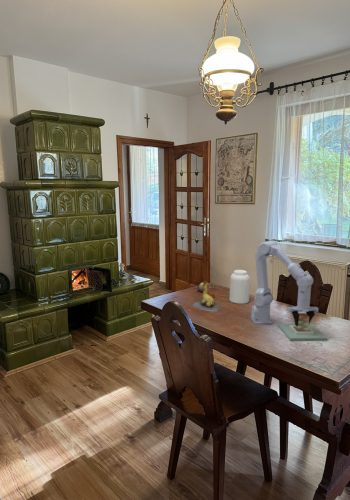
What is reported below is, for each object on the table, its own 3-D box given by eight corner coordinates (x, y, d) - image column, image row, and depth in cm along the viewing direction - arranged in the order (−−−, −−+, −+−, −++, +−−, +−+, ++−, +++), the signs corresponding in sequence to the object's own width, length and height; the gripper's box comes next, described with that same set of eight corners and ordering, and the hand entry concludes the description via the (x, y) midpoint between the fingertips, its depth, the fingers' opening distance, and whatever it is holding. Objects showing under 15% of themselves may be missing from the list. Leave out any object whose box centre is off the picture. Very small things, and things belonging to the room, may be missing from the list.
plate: (290, 340, 163) (290, 336, 163) (277, 326, 181) (277, 322, 180) (327, 340, 164) (327, 336, 163) (311, 325, 181) (311, 321, 181)
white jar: (242, 305, 213) (244, 274, 209) (225, 301, 221) (226, 270, 217) (252, 300, 222) (254, 270, 219) (235, 296, 230) (236, 267, 227)
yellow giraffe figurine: (200, 300, 223) (201, 276, 219) (226, 306, 213) (227, 281, 210) (188, 308, 209) (188, 283, 206) (214, 314, 200) (215, 288, 196)
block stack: (298, 331, 169) (299, 316, 168) (294, 327, 174) (295, 313, 173) (308, 330, 170) (309, 316, 169) (304, 327, 175) (305, 313, 174)
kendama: (208, 293, 224) (195, 283, 242) (209, 301, 226) (196, 291, 244) (216, 291, 226) (203, 281, 244) (217, 299, 228) (204, 289, 246)
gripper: (292, 301, 165) (290, 328, 167) (322, 301, 165) (319, 328, 168) (287, 297, 172) (285, 323, 174) (315, 297, 172) (313, 322, 175)
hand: (301, 325), depth 171 cm, fingers closed on block stack, 5 cm apart
